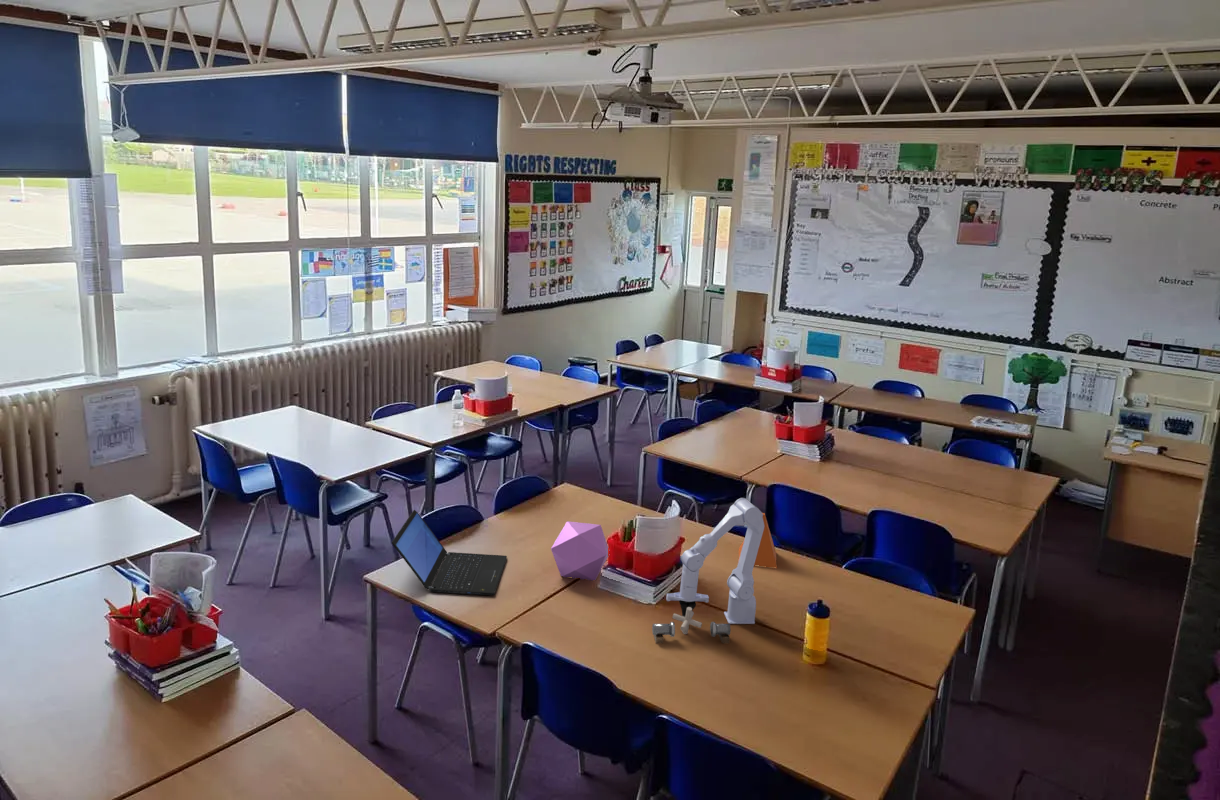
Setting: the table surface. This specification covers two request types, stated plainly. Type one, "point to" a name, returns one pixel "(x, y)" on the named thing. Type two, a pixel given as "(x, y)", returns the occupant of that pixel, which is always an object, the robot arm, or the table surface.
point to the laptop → (446, 562)
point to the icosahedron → (580, 550)
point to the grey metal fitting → (663, 631)
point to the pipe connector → (687, 620)
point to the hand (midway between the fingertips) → (685, 619)
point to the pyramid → (764, 548)
